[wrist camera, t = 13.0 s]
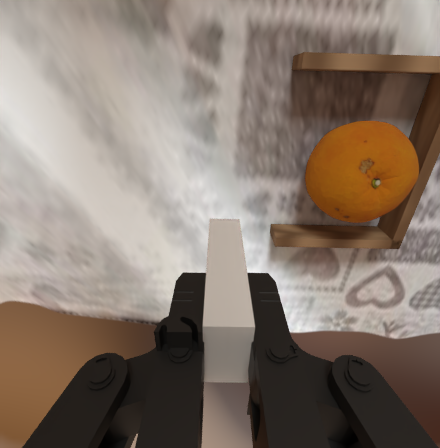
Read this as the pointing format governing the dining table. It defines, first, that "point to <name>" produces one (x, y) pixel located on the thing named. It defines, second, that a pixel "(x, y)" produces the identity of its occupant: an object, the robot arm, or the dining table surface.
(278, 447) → the robot arm
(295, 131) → the dining table surface
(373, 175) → the fruit
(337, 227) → the corral
